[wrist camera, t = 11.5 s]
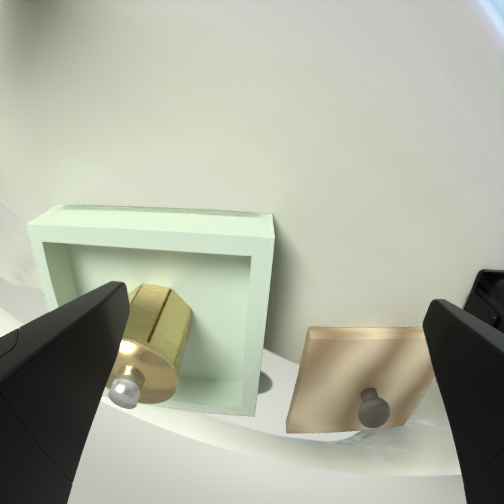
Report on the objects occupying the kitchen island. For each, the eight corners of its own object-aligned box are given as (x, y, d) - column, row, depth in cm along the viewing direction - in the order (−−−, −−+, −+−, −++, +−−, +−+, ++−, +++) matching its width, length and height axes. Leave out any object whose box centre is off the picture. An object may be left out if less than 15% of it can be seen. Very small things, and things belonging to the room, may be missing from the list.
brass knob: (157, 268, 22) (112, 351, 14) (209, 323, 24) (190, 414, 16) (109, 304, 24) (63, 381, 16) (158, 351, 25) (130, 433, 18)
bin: (272, 213, 21) (274, 238, 17) (255, 382, 28) (254, 416, 25) (56, 205, 21) (26, 224, 17) (93, 361, 28) (79, 389, 24)
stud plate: (449, 325, 25) (474, 365, 20) (400, 415, 31) (411, 452, 26) (308, 326, 25) (317, 376, 20) (285, 422, 31) (287, 464, 26)
